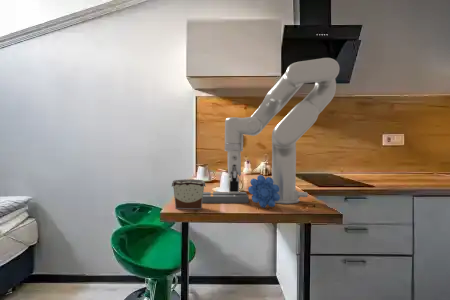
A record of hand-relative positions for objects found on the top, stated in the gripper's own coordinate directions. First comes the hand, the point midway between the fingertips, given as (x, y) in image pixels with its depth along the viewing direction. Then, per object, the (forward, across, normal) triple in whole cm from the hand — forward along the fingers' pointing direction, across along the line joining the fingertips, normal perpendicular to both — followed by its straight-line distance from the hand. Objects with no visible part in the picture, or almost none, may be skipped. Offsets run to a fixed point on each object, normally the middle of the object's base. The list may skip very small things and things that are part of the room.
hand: (233, 189), depth 145 cm
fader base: (+4, 0, +4) cm, 6 cm away
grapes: (+4, -17, -10) cm, 20 cm away
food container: (+5, -15, +17) cm, 23 cm away
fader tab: (+3, 0, 0) cm, 3 cm away
